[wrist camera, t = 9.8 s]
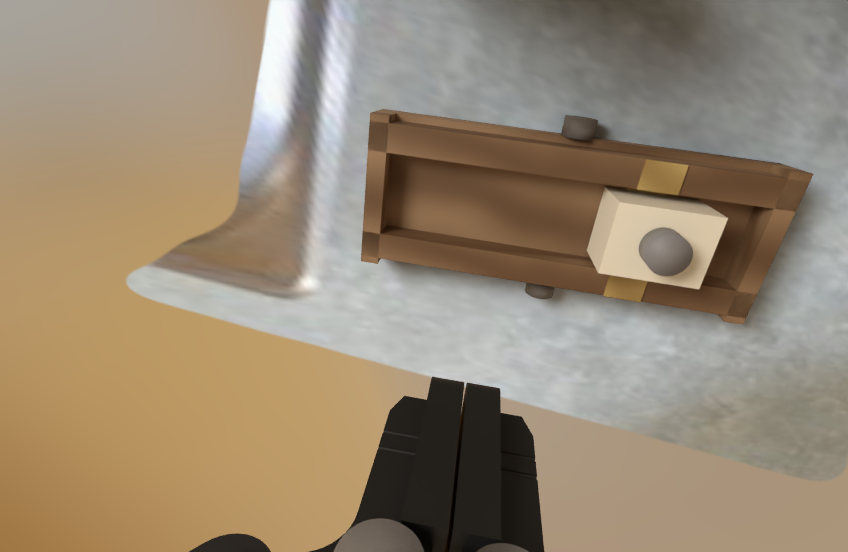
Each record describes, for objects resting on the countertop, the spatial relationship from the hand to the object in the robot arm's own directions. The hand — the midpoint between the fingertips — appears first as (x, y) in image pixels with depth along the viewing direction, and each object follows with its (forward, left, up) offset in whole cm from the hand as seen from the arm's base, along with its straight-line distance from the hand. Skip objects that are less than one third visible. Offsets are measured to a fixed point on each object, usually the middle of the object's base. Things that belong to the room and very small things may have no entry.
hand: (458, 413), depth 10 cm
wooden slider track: (+1, +5, -25) cm, 25 cm away
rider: (+1, +11, -23) cm, 25 cm away
